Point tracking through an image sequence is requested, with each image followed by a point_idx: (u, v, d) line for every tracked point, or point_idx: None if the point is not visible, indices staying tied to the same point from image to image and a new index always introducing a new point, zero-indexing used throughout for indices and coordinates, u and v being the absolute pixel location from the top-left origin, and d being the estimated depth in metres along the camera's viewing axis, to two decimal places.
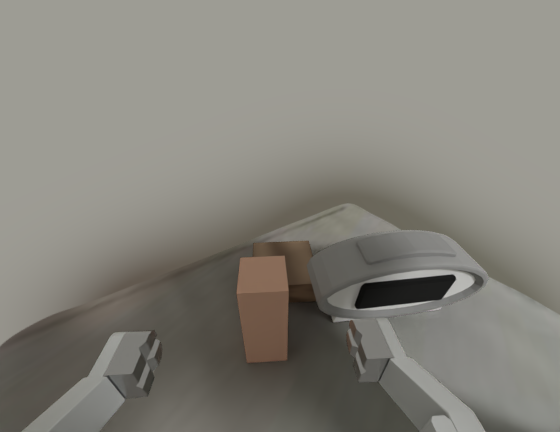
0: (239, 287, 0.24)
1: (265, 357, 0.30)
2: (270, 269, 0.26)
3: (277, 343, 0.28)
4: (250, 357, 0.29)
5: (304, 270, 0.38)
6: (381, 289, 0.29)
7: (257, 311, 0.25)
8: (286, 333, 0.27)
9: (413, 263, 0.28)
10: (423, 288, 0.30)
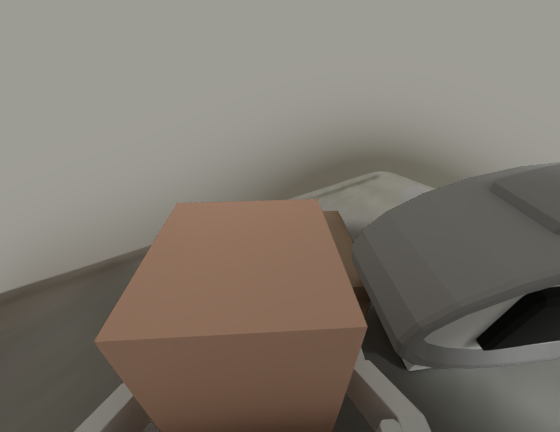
0: (127, 305, 0.05)
1: None
2: (274, 235, 0.07)
3: None
4: None
5: None
6: None
7: (222, 403, 0.06)
8: None
9: None
10: None
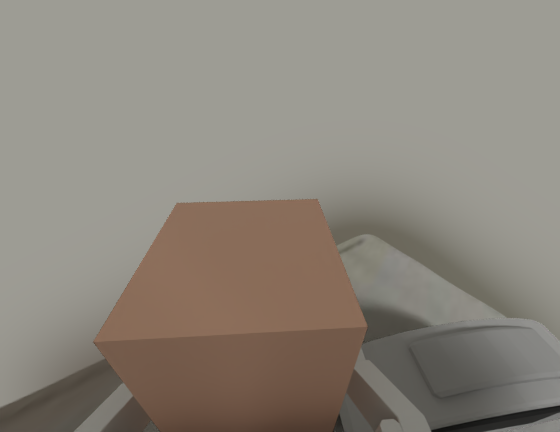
0: (126, 306, 0.05)
1: None
2: (274, 235, 0.07)
3: None
4: None
5: None
6: None
7: (221, 403, 0.06)
8: None
9: (513, 400, 0.17)
10: (515, 421, 0.19)
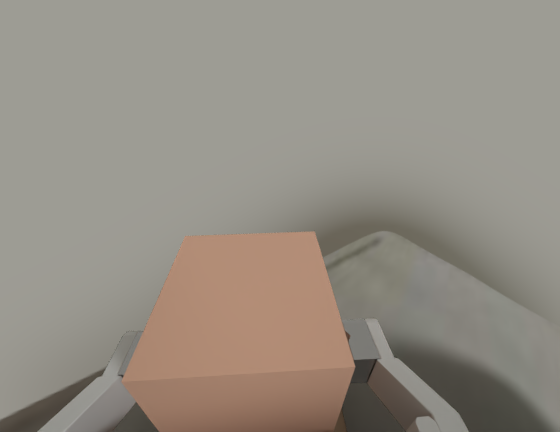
0: (147, 345, 0.06)
1: None
2: (275, 272, 0.08)
3: None
4: None
5: None
6: None
7: (228, 426, 0.07)
8: None
9: None
10: None
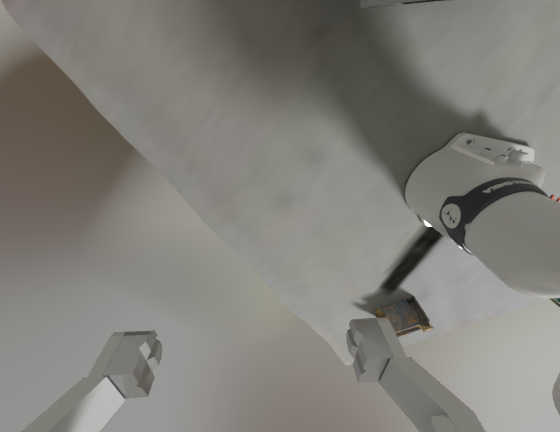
0: None
1: None
2: None
3: None
4: None
5: None
6: None
7: None
8: None
9: None
10: None
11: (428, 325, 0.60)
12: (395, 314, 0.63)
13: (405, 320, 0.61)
